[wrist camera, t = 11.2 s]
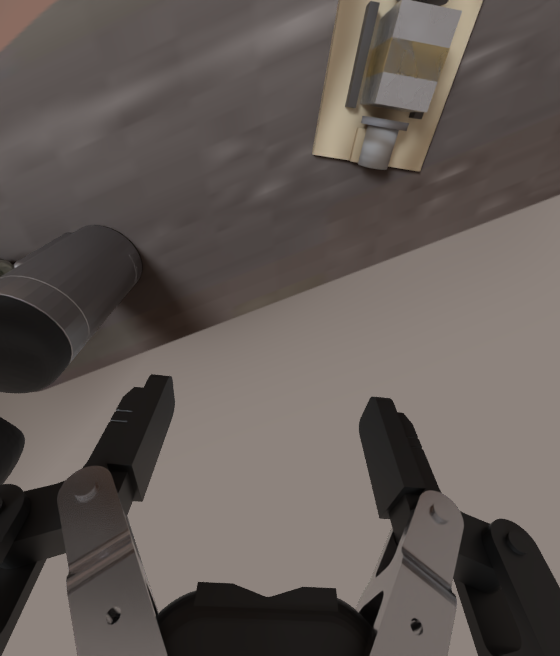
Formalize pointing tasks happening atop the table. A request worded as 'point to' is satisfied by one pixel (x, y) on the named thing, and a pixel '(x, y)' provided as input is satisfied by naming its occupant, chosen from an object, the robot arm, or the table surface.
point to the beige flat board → (374, 122)
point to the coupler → (409, 56)
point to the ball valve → (5, 267)
